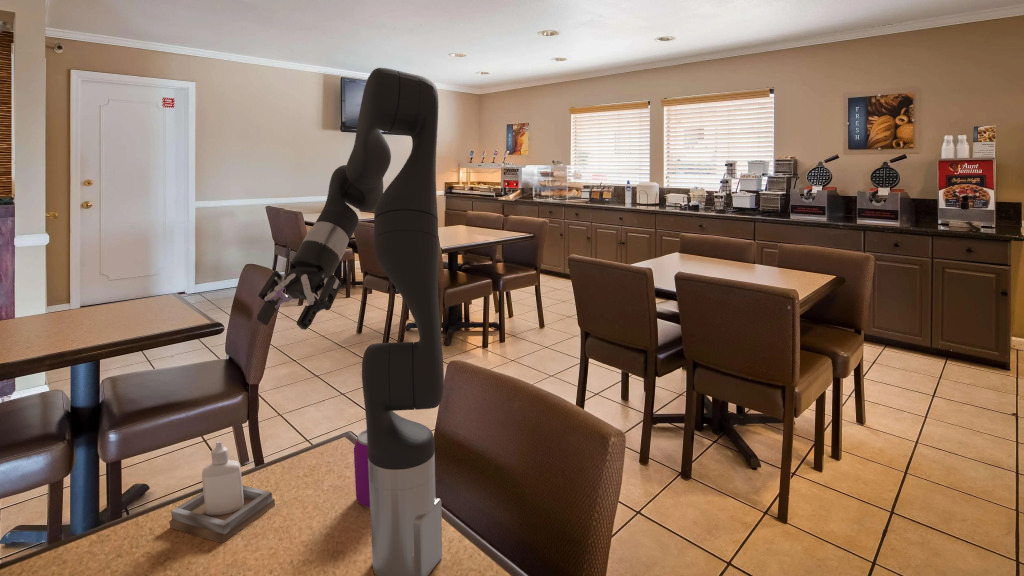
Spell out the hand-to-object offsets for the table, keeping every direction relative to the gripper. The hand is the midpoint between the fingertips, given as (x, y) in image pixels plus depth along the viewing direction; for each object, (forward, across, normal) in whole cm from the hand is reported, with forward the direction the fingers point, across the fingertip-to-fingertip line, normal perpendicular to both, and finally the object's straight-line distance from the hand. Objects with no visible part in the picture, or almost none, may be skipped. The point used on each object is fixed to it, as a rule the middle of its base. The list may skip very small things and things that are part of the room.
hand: (280, 325), depth 97 cm
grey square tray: (+29, +4, -14) cm, 33 cm away
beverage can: (+20, -17, -24) cm, 35 cm away
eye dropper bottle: (+29, +4, -13) cm, 32 cm away
